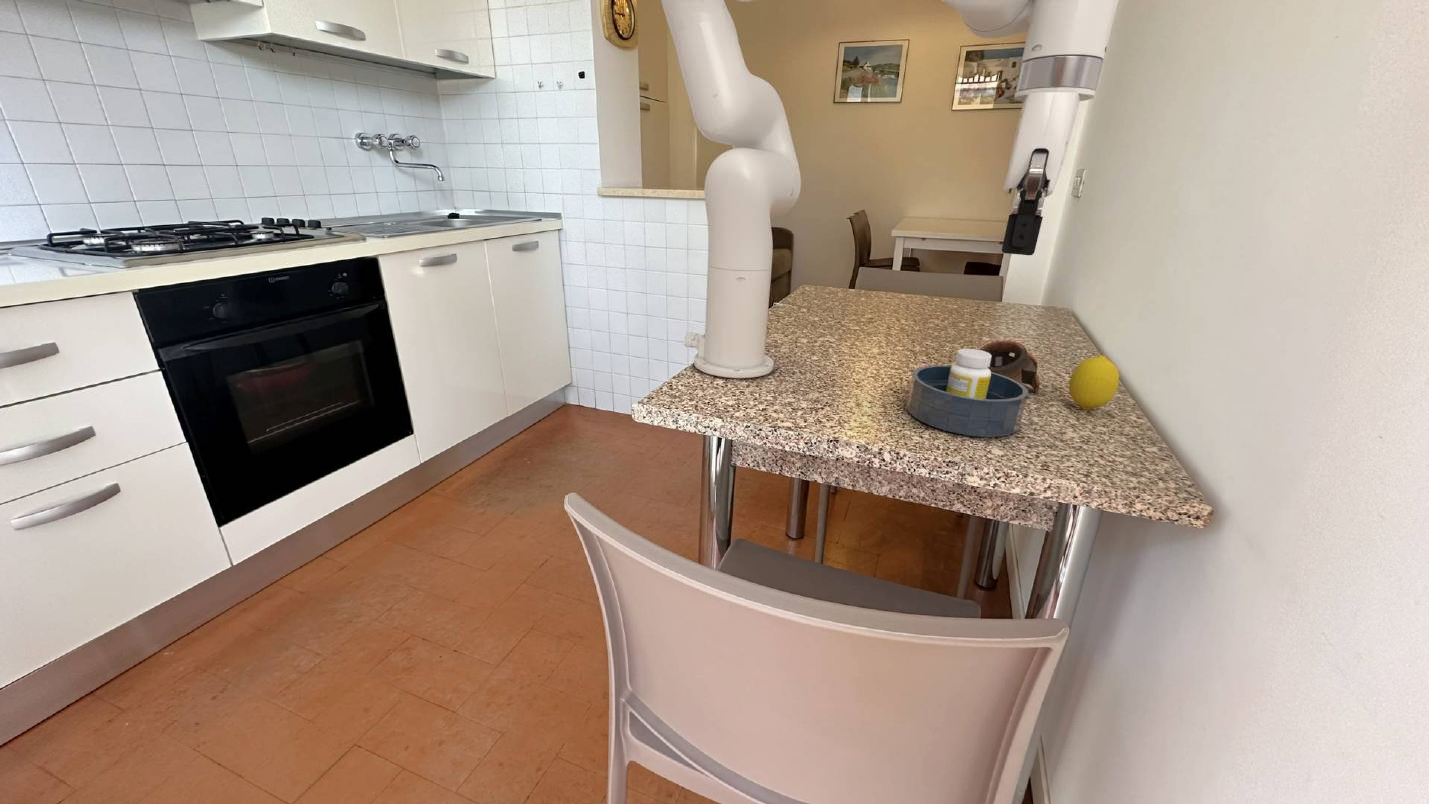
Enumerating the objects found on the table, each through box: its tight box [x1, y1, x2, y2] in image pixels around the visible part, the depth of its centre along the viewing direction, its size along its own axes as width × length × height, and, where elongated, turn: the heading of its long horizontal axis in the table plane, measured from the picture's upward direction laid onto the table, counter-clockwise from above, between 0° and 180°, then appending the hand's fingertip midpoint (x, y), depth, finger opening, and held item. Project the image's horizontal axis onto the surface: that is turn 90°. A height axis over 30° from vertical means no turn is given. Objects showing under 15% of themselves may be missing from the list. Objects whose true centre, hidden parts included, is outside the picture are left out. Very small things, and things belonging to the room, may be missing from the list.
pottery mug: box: [978, 339, 1041, 395], centre depth 86 cm, size 12×10×8 cm
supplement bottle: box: [946, 348, 991, 399], centre depth 73 cm, size 5×5×8 cm
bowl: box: [906, 364, 1029, 438], centre depth 74 cm, size 14×14×5 cm
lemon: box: [1068, 354, 1120, 412], centre depth 78 cm, size 6×6×8 cm
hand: (1017, 250), depth 66 cm, fingers open, 9 cm apart
